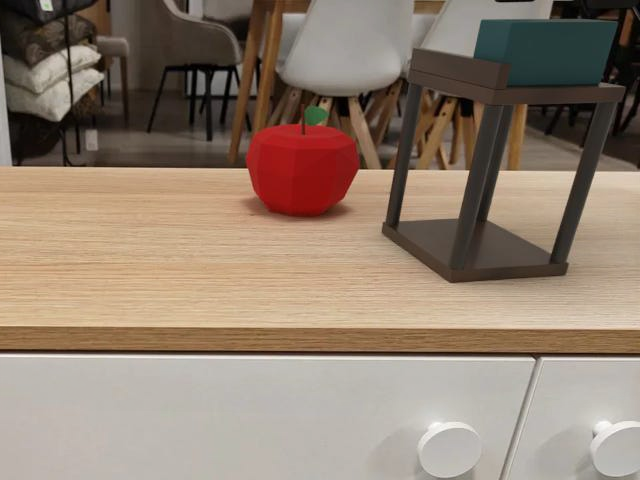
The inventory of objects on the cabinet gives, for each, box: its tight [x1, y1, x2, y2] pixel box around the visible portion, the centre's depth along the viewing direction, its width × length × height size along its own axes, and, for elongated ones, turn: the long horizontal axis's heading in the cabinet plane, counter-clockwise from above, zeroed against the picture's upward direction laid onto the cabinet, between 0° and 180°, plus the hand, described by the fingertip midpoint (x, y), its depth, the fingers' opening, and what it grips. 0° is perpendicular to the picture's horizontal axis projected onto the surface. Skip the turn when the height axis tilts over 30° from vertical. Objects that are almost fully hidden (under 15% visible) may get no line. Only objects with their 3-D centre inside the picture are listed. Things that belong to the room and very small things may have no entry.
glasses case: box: [472, 18, 619, 87], centre depth 47 cm, size 8×4×4 cm, turn 99°
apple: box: [245, 103, 360, 217], centre depth 67 cm, size 11×11×10 cm
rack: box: [380, 47, 627, 283], centre depth 54 cm, size 10×12×16 cm
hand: (558, 4), depth 46 cm, fingers open, 9 cm apart
